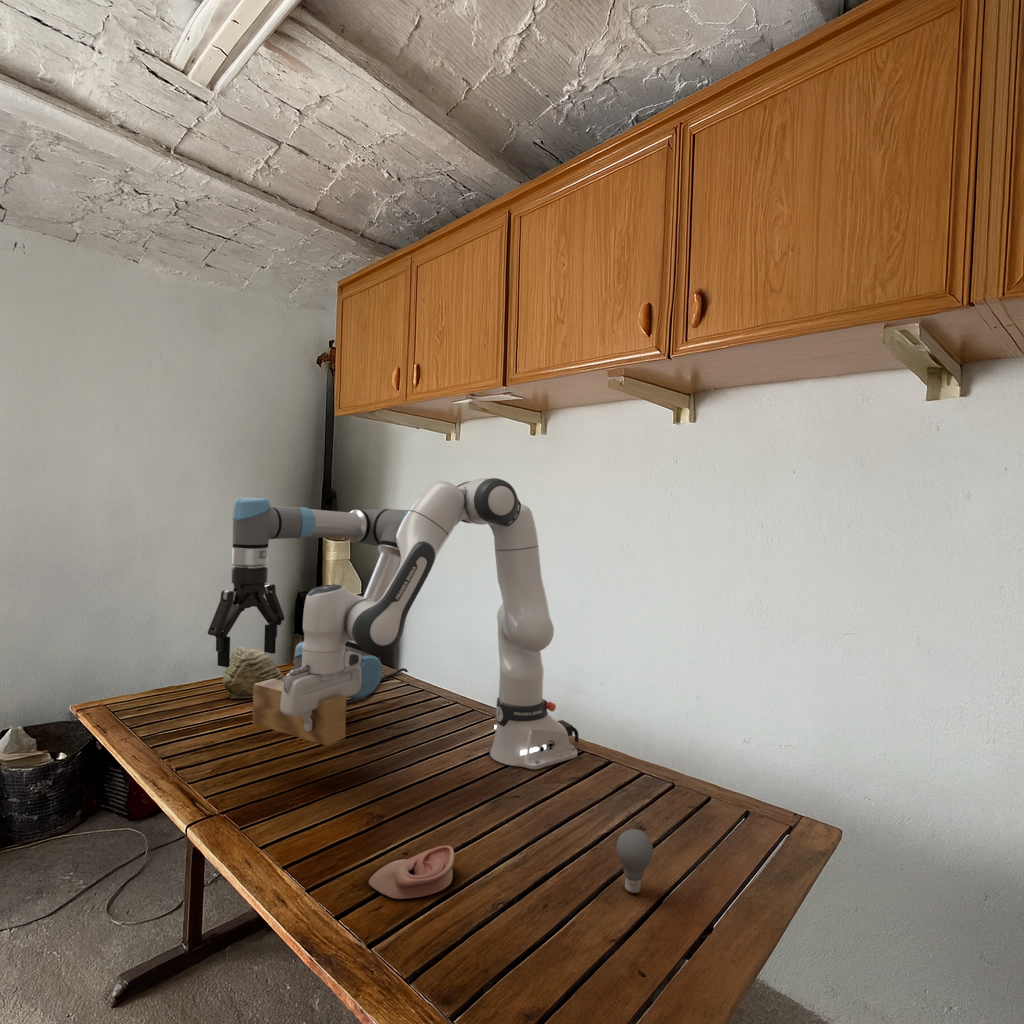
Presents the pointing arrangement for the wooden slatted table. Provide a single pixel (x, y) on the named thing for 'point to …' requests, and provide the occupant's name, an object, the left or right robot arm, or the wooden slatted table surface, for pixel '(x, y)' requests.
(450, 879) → the anatomical model
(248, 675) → the fossil
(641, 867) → the light bulb
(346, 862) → the wooden slatted table surface
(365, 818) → the wooden slatted table surface
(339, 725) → the bar
